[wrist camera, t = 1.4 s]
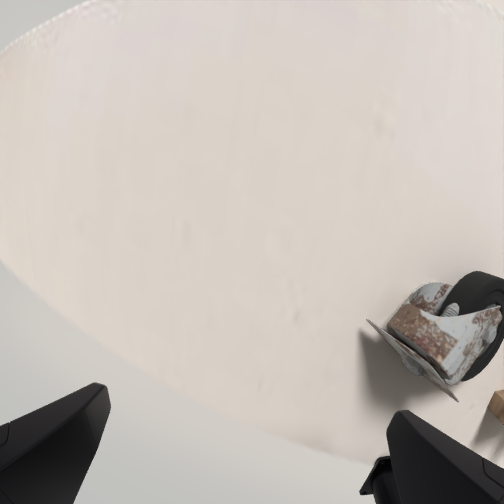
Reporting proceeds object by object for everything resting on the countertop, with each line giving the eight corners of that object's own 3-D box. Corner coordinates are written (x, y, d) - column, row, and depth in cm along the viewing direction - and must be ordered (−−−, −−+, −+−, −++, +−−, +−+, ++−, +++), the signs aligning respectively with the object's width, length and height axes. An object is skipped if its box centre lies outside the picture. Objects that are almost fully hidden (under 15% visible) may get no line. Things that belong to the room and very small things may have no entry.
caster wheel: (483, 301, 22) (421, 386, 22) (441, 216, 19) (359, 324, 19) (535, 324, 16) (467, 425, 16) (513, 228, 13) (421, 372, 13)
